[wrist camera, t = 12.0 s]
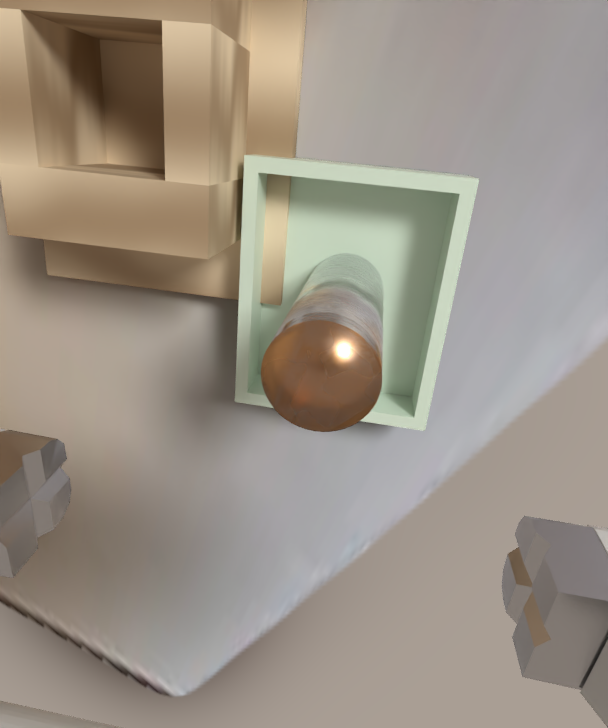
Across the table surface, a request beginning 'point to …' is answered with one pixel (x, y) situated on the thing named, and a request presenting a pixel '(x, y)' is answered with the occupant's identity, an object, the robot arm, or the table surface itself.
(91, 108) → the block
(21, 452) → the robot arm
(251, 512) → the table surface
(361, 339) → the steel pin
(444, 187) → the tray
